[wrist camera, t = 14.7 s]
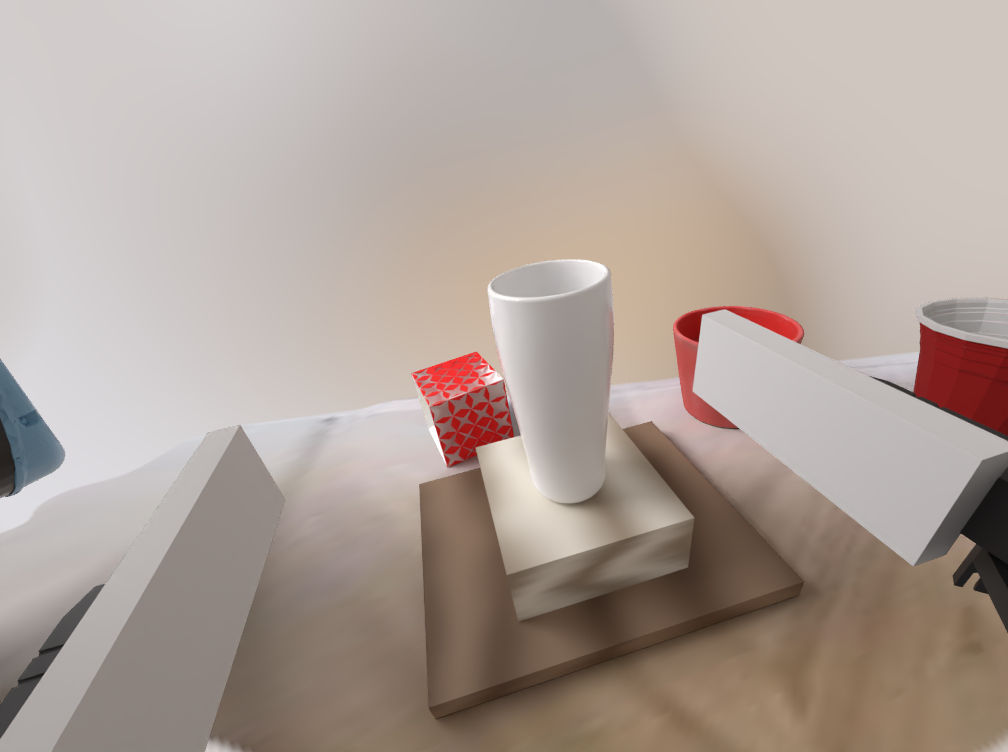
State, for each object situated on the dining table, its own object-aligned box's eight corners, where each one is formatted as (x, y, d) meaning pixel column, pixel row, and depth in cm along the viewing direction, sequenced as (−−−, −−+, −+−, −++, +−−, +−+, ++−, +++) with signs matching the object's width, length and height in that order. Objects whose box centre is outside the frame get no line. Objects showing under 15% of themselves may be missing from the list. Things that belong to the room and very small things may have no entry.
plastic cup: (1017, 417, 36) (1097, 288, 30) (1090, 507, 28) (1218, 356, 22) (860, 399, 41) (901, 286, 35) (884, 470, 33) (942, 341, 27)
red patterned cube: (428, 429, 48) (411, 373, 44) (487, 406, 50) (476, 351, 46) (447, 468, 41) (429, 406, 38) (514, 440, 44) (504, 379, 40)
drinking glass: (553, 437, 33) (531, 256, 25) (632, 465, 29) (633, 259, 21) (503, 491, 29) (459, 293, 21) (588, 533, 25) (570, 305, 17)
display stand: (435, 719, 23) (404, 664, 20) (423, 495, 38) (404, 444, 35) (798, 595, 26) (823, 529, 22) (650, 432, 41) (653, 379, 38)
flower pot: (699, 371, 50) (708, 297, 45) (800, 403, 42) (823, 317, 37) (648, 410, 45) (651, 331, 40) (752, 454, 37) (772, 363, 32)
